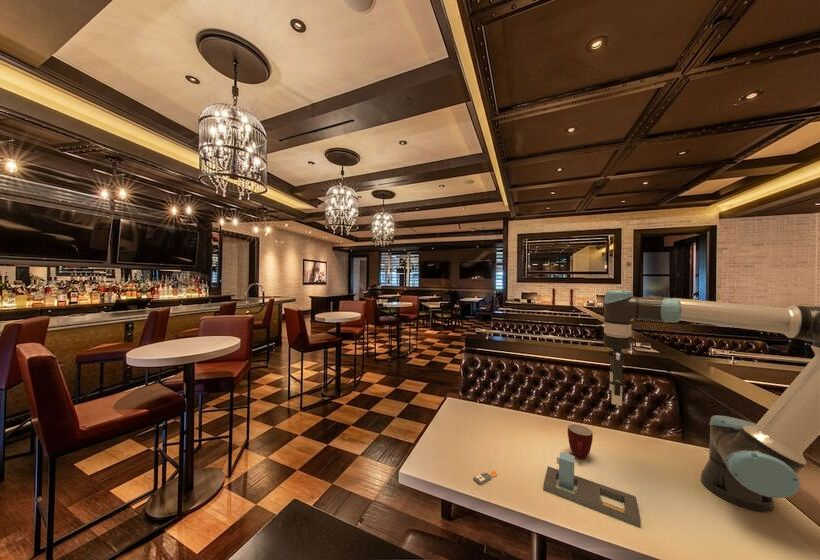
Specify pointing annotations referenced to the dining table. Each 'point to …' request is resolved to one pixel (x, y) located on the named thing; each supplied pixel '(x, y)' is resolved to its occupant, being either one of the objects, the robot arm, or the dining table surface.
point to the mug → (580, 440)
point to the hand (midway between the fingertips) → (615, 397)
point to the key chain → (484, 478)
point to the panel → (595, 497)
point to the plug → (566, 470)
